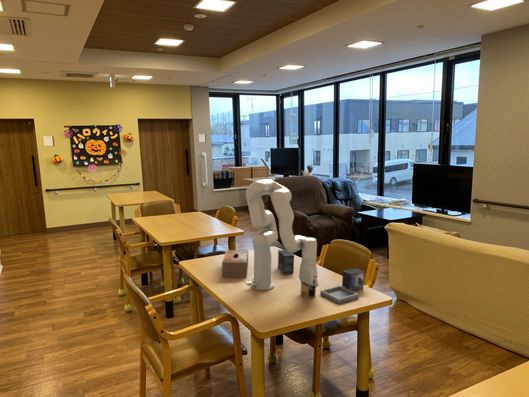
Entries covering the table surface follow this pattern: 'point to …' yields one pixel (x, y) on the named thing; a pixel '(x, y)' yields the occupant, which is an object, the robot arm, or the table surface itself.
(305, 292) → the block
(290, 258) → the small box
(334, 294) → the tray
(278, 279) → the table surface
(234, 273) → the tissue box cover
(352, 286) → the small box
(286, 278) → the table surface
